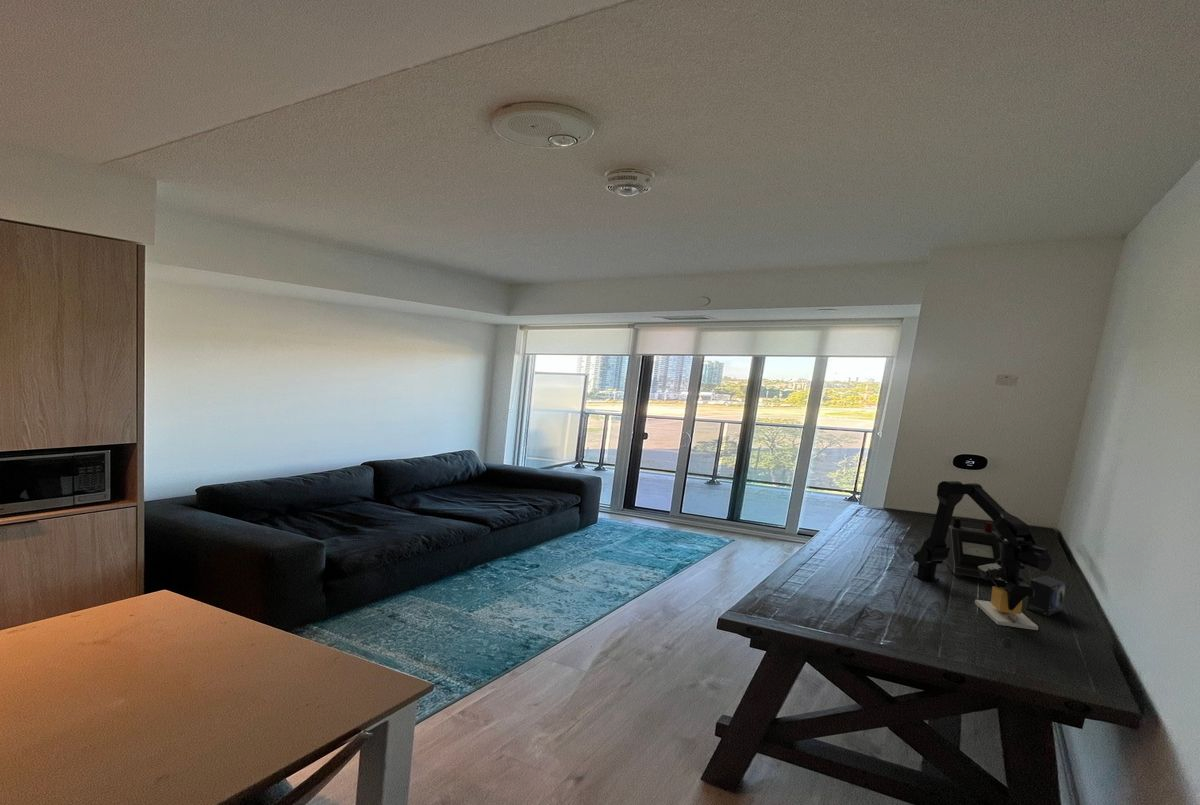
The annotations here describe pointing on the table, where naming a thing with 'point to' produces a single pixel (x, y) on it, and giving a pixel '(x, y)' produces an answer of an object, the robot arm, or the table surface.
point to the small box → (1046, 595)
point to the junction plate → (1006, 616)
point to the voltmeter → (971, 548)
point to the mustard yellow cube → (1003, 601)
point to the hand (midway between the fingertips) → (1005, 605)
